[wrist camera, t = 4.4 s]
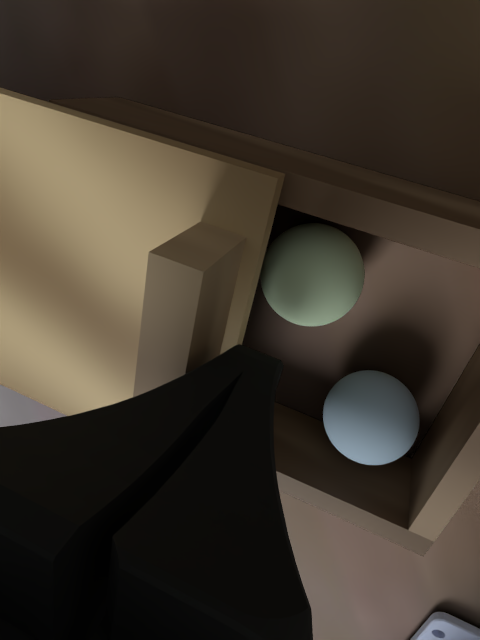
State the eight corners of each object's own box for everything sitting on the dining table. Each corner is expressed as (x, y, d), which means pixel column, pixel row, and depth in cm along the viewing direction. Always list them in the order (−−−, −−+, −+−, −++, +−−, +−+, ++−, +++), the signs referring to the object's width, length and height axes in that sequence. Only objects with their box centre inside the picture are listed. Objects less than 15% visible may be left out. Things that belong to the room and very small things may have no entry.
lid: (210, 466, 15) (168, 540, 13) (-101, 322, 18) (-185, 360, 16) (285, 174, 10) (238, 201, 8) (-166, 37, 13) (-305, 25, 11)
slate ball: (400, 437, 16) (394, 501, 14) (321, 405, 17) (302, 460, 15) (435, 373, 15) (436, 432, 12) (347, 341, 15) (331, 390, 13)
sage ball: (351, 314, 15) (335, 360, 12) (267, 284, 16) (236, 322, 13) (384, 229, 13) (374, 262, 11) (290, 199, 14) (259, 224, 12)
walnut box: (424, 482, 17) (423, 556, 14) (104, 346, 20) (53, 386, 17) (584, 231, 12) (629, 274, 9) (118, 96, 15) (49, 99, 12)
